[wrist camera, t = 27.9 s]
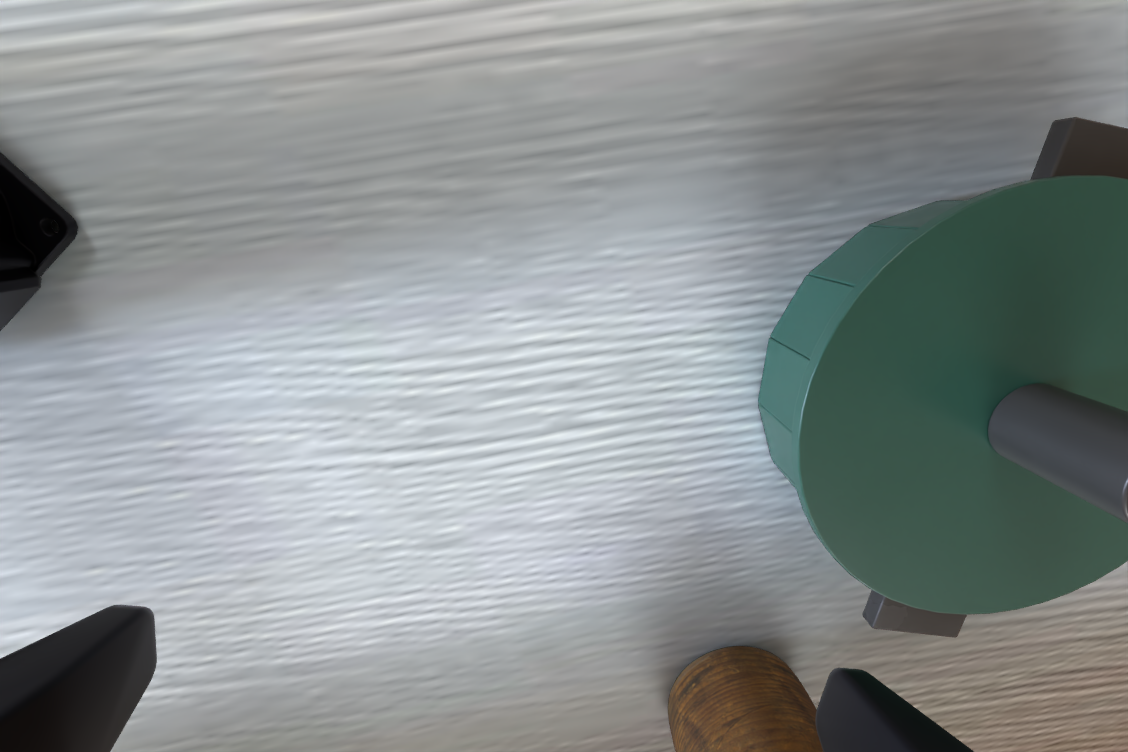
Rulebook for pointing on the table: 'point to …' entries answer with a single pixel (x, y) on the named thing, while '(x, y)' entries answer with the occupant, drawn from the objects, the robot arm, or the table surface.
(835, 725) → the robot arm
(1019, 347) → the pot lid
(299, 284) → the table surface
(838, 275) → the pot
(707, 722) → the utensil holder
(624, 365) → the table surface
